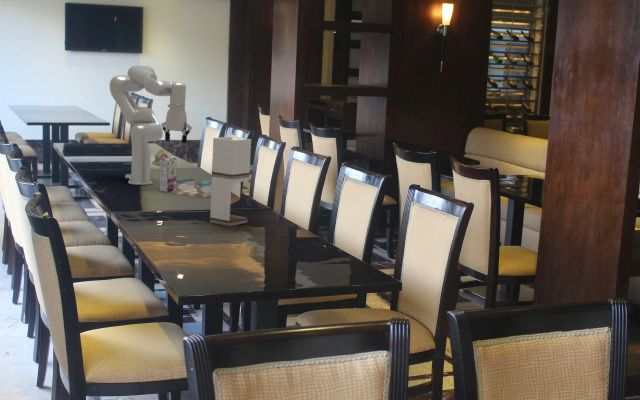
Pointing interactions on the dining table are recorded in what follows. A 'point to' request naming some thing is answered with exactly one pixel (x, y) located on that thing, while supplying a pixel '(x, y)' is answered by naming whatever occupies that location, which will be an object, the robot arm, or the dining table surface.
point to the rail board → (192, 188)
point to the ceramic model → (159, 157)
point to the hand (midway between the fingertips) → (175, 141)
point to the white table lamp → (228, 178)
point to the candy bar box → (167, 174)
